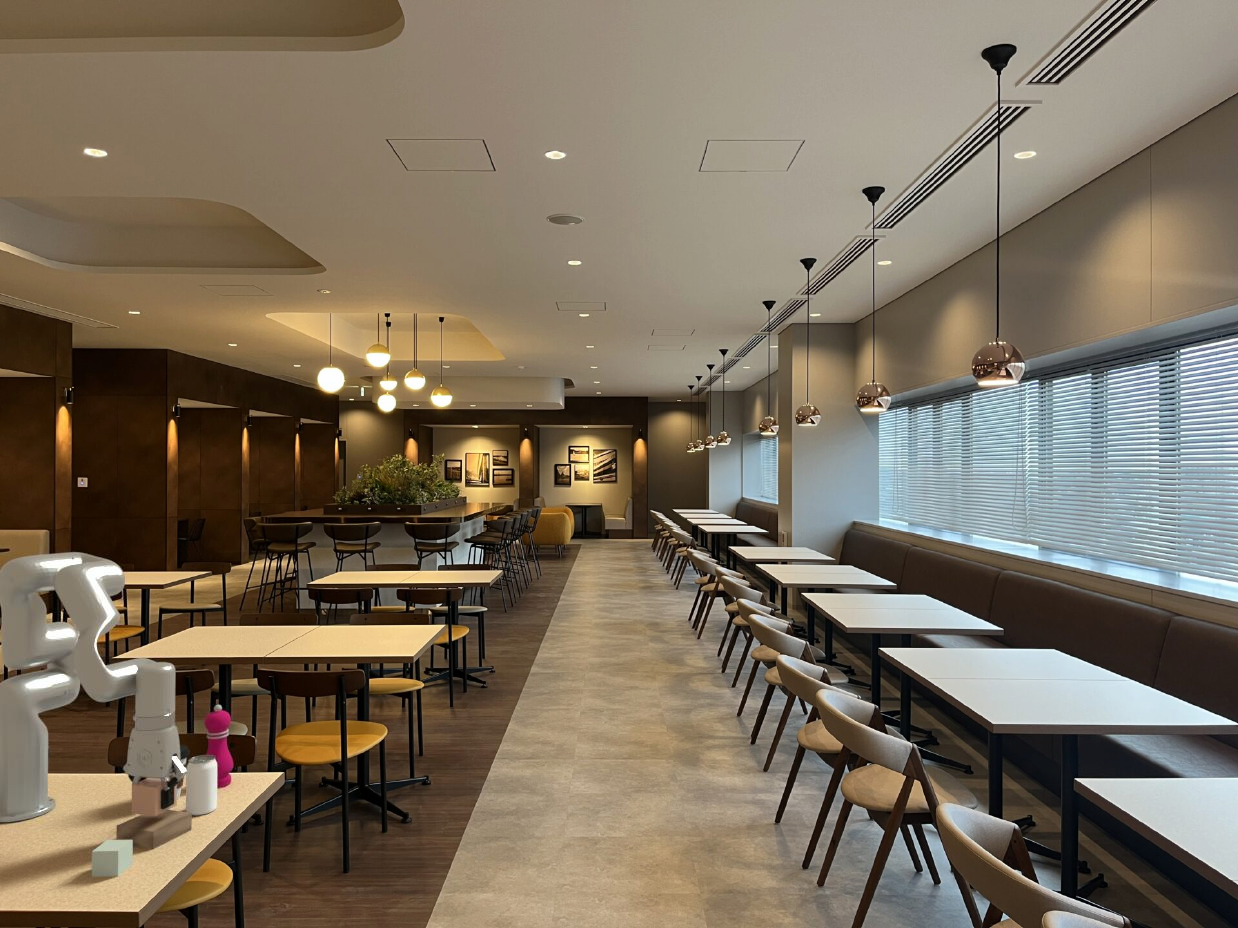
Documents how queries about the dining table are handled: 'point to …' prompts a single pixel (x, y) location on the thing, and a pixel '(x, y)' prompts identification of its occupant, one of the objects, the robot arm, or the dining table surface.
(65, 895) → the dining table surface
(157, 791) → the clay cube
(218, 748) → the pepper mill
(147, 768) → the robot arm
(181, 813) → the walnut block
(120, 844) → the sage cube
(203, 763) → the can
